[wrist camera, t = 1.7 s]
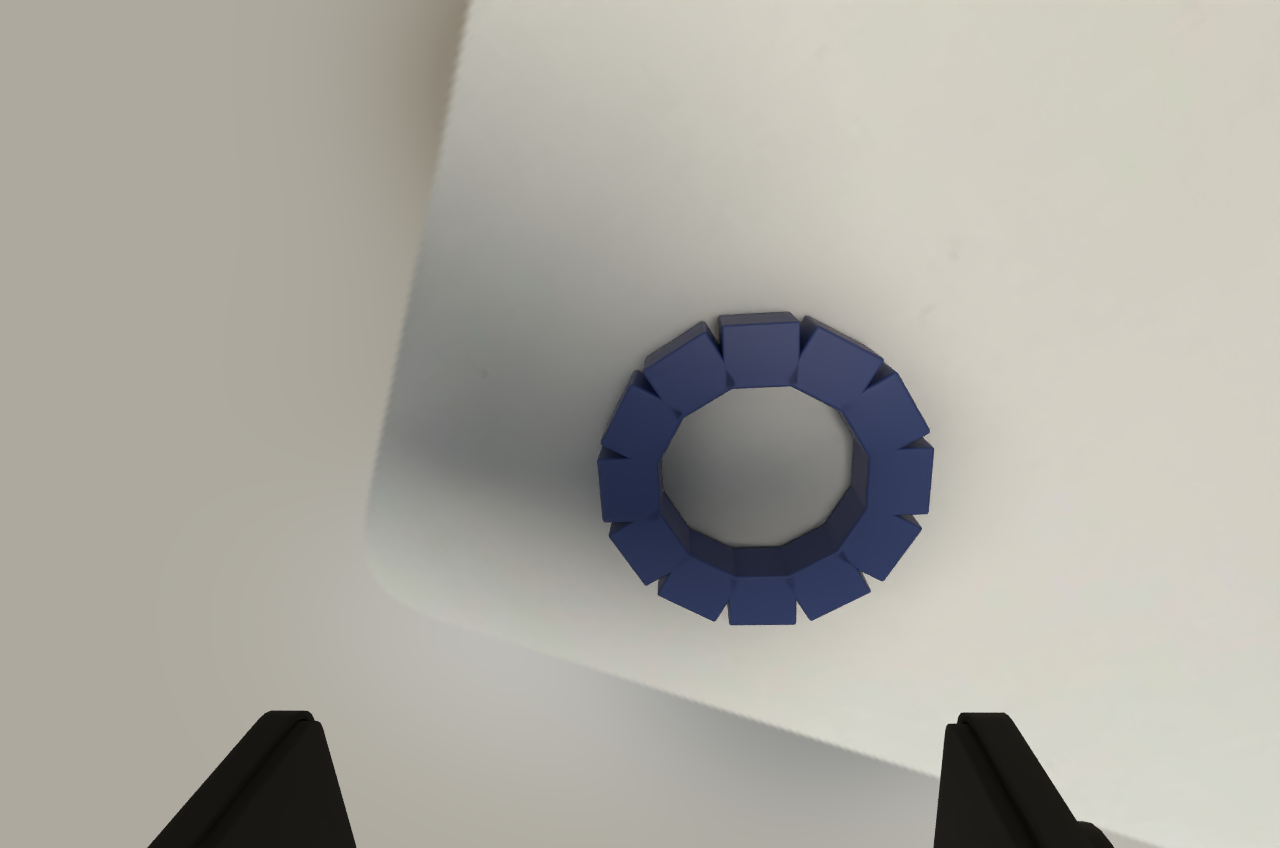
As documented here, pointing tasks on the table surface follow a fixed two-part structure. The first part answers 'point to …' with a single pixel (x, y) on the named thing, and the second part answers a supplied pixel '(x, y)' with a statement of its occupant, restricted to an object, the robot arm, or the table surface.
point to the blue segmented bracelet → (812, 564)
